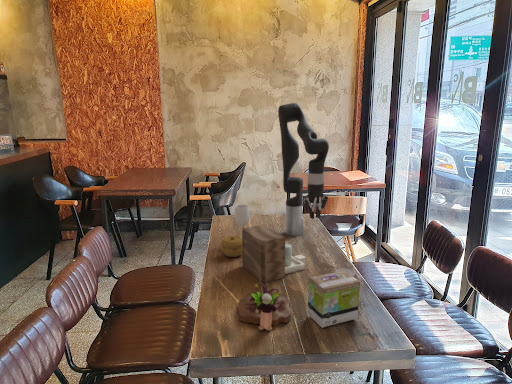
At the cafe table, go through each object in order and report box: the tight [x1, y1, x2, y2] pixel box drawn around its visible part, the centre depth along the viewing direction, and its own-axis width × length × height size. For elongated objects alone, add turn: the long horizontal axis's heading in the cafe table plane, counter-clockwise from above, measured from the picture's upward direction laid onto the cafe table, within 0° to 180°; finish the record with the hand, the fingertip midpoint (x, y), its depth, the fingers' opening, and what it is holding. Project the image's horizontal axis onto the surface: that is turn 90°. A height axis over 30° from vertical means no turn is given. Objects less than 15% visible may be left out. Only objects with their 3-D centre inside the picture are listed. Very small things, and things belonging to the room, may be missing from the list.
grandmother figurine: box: [255, 294, 278, 331], centre depth 125 cm, size 8×4×13 cm, turn 90°
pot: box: [220, 235, 243, 258], centre depth 187 cm, size 12×12×10 cm
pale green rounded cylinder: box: [285, 243, 293, 267], centre depth 173 cm, size 5×5×9 cm
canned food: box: [335, 267, 357, 279], centre depth 144 cm, size 8×8×11 cm
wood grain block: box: [242, 224, 286, 284], centre depth 167 cm, size 11×19×18 cm, turn 28°
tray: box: [285, 254, 307, 275], centre depth 175 cm, size 16×14×3 cm
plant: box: [236, 282, 292, 326], centre depth 137 cm, size 20×20×11 cm
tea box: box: [306, 271, 361, 329], centre depth 131 cm, size 15×10×15 cm
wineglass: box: [233, 204, 251, 238], centre depth 201 cm, size 9×9×21 cm
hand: (314, 217), depth 177 cm, fingers closed
